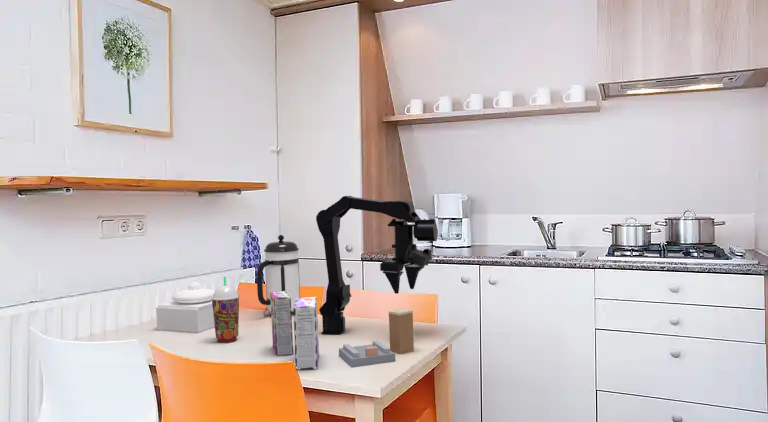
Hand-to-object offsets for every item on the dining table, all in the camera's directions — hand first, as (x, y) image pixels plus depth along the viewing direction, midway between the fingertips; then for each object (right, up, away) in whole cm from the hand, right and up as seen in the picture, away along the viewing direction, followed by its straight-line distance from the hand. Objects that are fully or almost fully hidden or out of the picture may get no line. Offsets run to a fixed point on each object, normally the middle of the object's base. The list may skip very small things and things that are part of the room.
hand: (404, 291), depth 184 cm
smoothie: (-55, -16, +1) cm, 58 cm away
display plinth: (-11, -15, -24) cm, 30 cm away
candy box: (-27, -16, -26) cm, 40 cm away
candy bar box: (-36, -16, -13) cm, 41 cm away
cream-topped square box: (-1, -14, -18) cm, 23 cm away
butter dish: (-73, -16, +25) cm, 78 cm away
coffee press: (-45, -14, +39) cm, 61 cm away
